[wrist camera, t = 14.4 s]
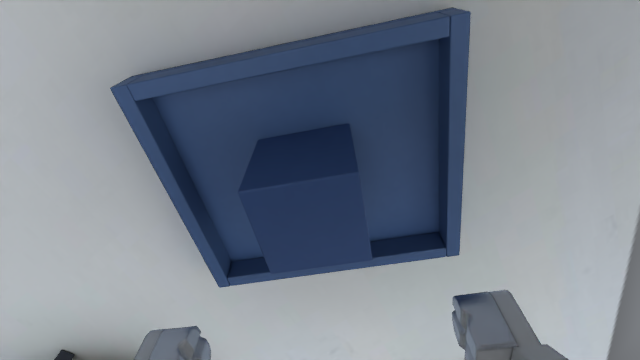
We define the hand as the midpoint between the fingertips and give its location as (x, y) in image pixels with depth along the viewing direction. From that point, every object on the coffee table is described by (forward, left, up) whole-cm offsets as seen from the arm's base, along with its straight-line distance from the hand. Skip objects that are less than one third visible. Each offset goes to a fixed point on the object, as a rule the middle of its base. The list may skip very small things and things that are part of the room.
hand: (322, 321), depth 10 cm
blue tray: (+1, 0, -10) cm, 10 cm away
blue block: (+1, 0, -10) cm, 10 cm away
